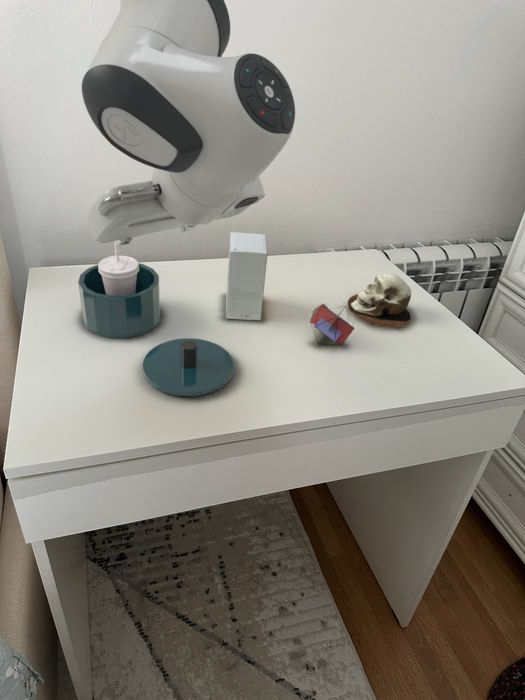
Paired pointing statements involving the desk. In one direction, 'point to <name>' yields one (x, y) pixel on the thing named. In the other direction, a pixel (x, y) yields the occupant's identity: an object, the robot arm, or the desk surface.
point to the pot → (120, 305)
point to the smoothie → (119, 274)
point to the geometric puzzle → (331, 324)
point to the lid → (188, 367)
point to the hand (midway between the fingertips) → (153, 232)
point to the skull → (383, 302)
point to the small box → (246, 276)
